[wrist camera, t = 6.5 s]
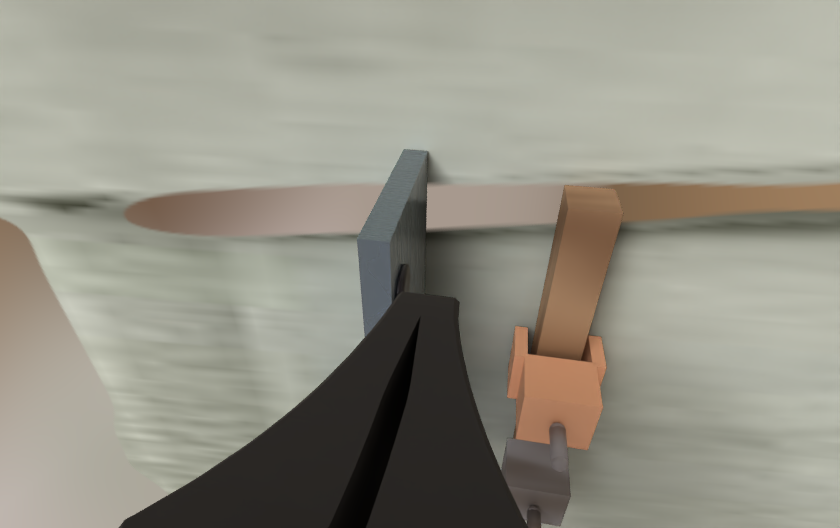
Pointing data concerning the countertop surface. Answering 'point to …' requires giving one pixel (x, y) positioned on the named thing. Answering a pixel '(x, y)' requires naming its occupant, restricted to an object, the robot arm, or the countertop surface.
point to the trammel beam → (564, 335)
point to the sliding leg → (556, 396)
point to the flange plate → (395, 239)
